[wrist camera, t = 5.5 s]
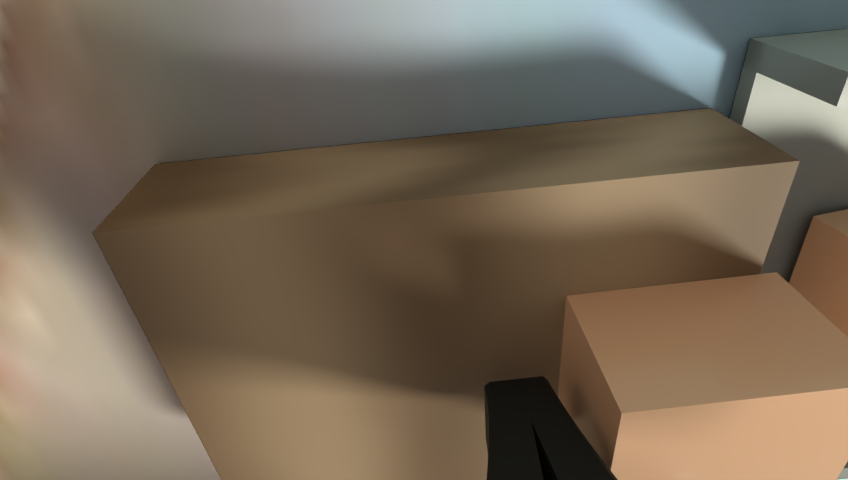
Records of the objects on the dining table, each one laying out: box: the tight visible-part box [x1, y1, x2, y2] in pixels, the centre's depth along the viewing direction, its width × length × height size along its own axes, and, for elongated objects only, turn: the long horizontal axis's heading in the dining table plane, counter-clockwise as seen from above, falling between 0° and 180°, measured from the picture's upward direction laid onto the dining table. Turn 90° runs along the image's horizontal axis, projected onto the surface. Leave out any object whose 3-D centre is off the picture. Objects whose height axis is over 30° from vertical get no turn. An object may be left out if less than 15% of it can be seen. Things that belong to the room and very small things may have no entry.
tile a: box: [558, 272, 848, 480], centre depth 11 cm, size 4×4×3 cm
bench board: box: [93, 108, 800, 480], centre depth 13 cm, size 13×10×3 cm
